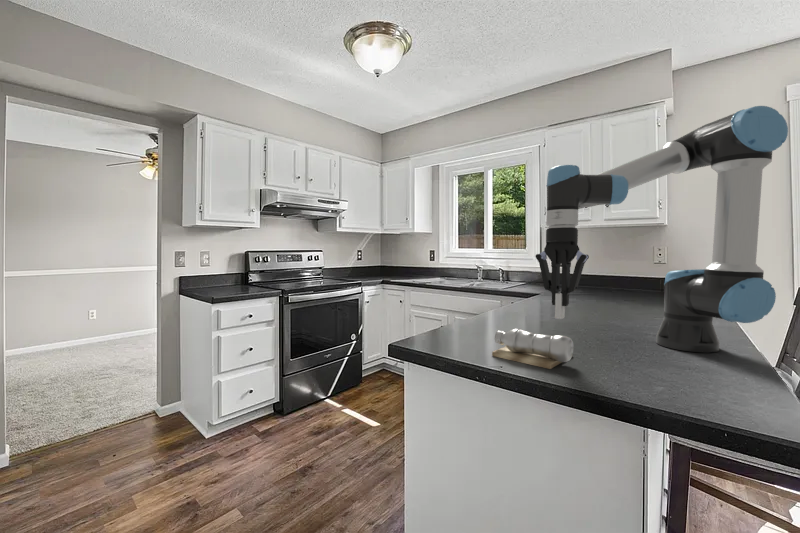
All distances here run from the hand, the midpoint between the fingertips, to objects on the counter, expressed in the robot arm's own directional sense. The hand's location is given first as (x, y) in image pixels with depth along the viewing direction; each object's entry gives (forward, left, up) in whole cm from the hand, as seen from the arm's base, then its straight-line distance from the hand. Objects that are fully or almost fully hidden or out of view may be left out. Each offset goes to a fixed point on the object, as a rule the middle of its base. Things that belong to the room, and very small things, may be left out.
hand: (559, 318), depth 97 cm
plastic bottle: (-5, +3, -7) cm, 9 cm away
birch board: (+7, 0, -11) cm, 13 cm away
